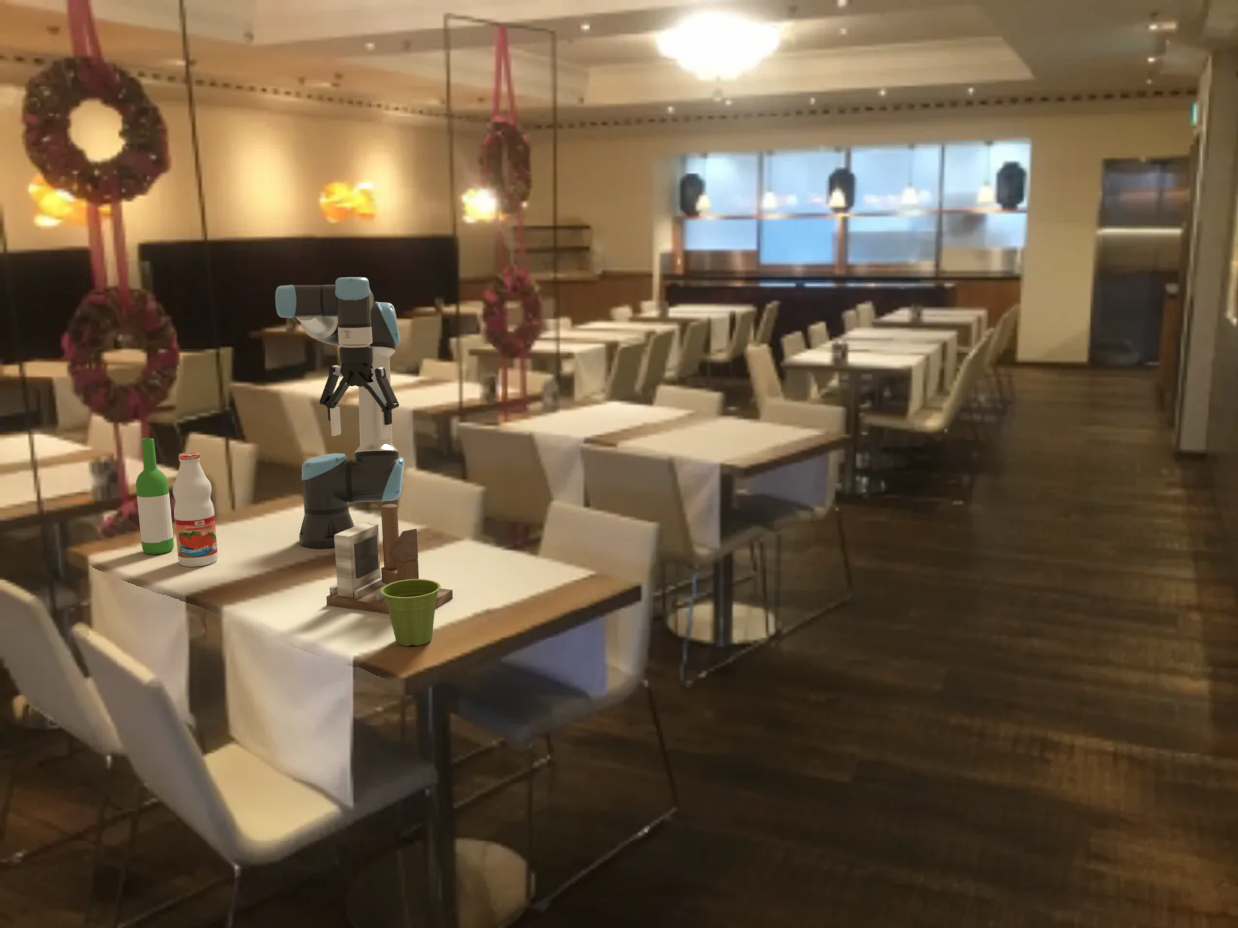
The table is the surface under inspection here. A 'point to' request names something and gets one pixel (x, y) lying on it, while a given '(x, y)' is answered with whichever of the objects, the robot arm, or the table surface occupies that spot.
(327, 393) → the robot arm
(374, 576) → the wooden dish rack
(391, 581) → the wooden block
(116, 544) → the table surface
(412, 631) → the plant pot
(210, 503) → the fruit juice
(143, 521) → the wine bottle
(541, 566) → the table surface
